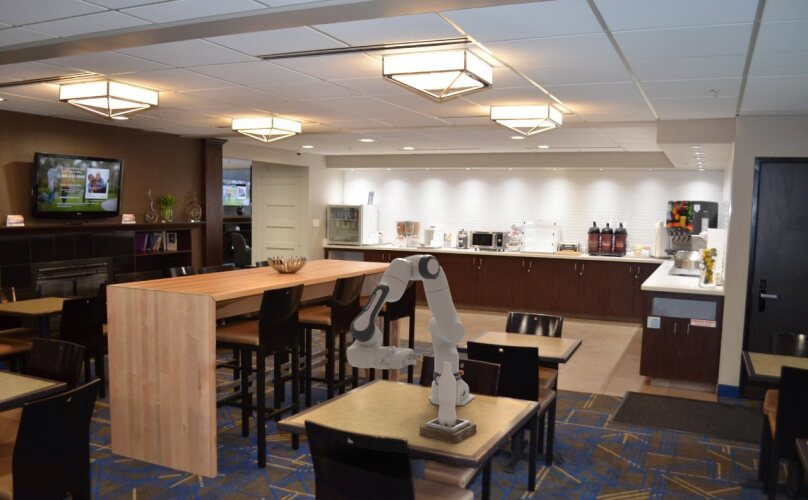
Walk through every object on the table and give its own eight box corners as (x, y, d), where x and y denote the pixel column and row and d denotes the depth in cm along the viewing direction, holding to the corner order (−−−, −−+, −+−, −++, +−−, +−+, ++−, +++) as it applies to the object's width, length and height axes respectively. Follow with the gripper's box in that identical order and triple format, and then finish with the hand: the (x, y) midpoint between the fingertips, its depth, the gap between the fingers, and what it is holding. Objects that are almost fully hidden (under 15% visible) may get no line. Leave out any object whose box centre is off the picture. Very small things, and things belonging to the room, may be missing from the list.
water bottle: (436, 422, 256) (437, 360, 255) (454, 422, 257) (455, 360, 256) (439, 428, 249) (439, 364, 248) (457, 428, 250) (457, 364, 248)
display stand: (442, 424, 264) (442, 413, 264) (476, 431, 255) (476, 420, 255) (419, 434, 251) (419, 423, 251) (454, 443, 242) (454, 431, 242)
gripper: (376, 355, 249) (411, 357, 245) (392, 344, 269) (425, 346, 265) (377, 372, 249) (412, 373, 245) (393, 359, 269) (425, 361, 265)
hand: (418, 359), depth 255 cm, fingers open, 8 cm apart
